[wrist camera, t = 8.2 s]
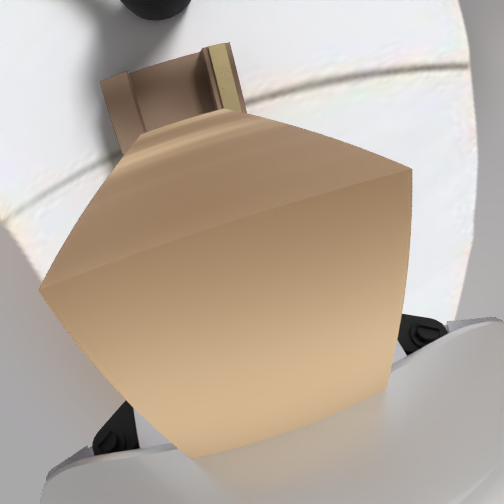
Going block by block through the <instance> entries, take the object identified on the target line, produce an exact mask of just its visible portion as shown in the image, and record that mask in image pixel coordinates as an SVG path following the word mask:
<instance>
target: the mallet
mask: <svg viewBox="0 0 504 504" xmlns="http://www.w3.org/2000/svg"><path fill="white" fill-rule="evenodd" d="M121 1H122V2H123V3H124V5H125V6H126V7H127V8H129V9H130V10H131V11H132V12H134V13H135V14H136V15H138V16H139V17H141V18H144V19H148V20H162V19H166V18H170V17H172V16H174V15H176V14H178V13H179V12H181V11H182V10H184V9H185V8H186V7H187V5H188V4H189V3H190V1H191V0H121Z"/></svg>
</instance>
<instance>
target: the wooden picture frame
mask: <svg viewBox="0 0 504 504" xmlns="http://www.w3.org/2000/svg"><path fill="white" fill-rule="evenodd" d="M411 217H412V169H411V168H409V167H406V166H404V165H402V164H399V163H397V162H395V161H392V160H390V159H387V158H385V157H382V156H380V155H377V154H375V153H372V152H370V151H367V150H364V149H362V148H359V147H356V146H354V145H351V144H348V143H345V142H342V141H339V140H337V139H334V138H331V137H328V136H325V135H321V134H318V133H315V132H312V131H309V130H306V129H302V128H299V127H296V126H292V125H289V124H285V123H282V122H278V121H274V120H270V119H267V118H263V117H259V116H255V115H251V114H247V113H242V112H238V111H234V110H229V109H220V110H216V111H213V112H209V113H206V114H202V115H199V116H195V117H192V118H188V119H185V120H182V121H179V122H176V123H173V124H170V125H167V126H164V127H161V128H158V129H155V130H152V131H149V132H146V133H144V134H141V135H140V136H139V137H138V139H137V140H136V141H135V142H134V143H133V145H132V146H131V147H130V148H129V150H128V151H127V152H126V153H125V155H124V156H123V157H122V159H121V160H120V161H119V162H118V164H117V165H116V166H115V168H114V169H113V170H112V172H111V173H110V174H109V176H108V177H107V179H106V180H105V181H104V183H103V184H102V185H101V187H100V188H99V190H98V191H97V193H96V194H95V195H94V197H93V198H92V200H91V201H90V203H89V204H88V206H87V207H86V209H85V210H84V212H83V213H82V215H81V216H80V218H79V220H78V221H77V223H76V224H75V226H74V227H73V229H72V231H71V232H70V234H69V236H68V237H67V239H66V241H65V242H64V244H63V246H62V247H61V249H60V251H59V253H58V254H57V256H56V258H55V260H54V262H53V263H52V265H51V267H50V269H49V271H48V273H47V274H46V276H45V278H44V280H43V282H42V284H41V286H40V288H39V291H40V293H41V295H42V296H43V298H44V299H45V301H46V302H47V304H48V305H49V307H50V308H51V309H52V311H53V312H54V314H55V315H56V316H57V318H58V320H59V321H60V322H61V324H62V325H63V326H64V328H65V329H66V330H67V332H68V333H69V334H70V336H71V337H72V338H73V340H74V341H75V342H76V343H77V345H78V346H79V347H80V349H81V350H82V351H83V352H84V354H85V355H86V356H87V357H88V358H89V360H90V361H91V362H92V363H93V364H94V366H95V367H96V368H97V369H98V370H99V371H100V372H101V374H102V375H103V376H104V377H105V378H106V379H107V380H108V381H109V383H110V384H111V385H112V386H113V387H114V388H115V389H116V390H117V391H118V392H119V393H120V394H121V395H122V396H123V398H124V399H125V400H126V401H127V402H128V403H129V404H130V405H131V406H132V407H133V408H134V409H135V410H136V411H137V412H138V413H139V414H140V415H141V416H142V417H144V418H145V419H146V420H147V421H148V422H149V423H150V424H151V425H152V426H153V427H154V428H155V429H156V430H157V431H159V432H160V433H161V434H162V435H163V436H164V437H165V438H166V439H168V440H169V441H170V442H171V443H172V444H173V445H175V446H176V447H177V448H178V449H179V450H181V451H182V452H183V453H184V454H186V455H187V456H188V457H189V458H191V459H192V458H197V457H202V456H206V455H210V454H214V453H219V452H223V451H226V450H230V449H234V448H237V447H241V446H245V445H248V444H251V443H255V442H258V441H261V440H264V439H268V438H271V437H274V436H277V435H280V434H282V433H285V432H288V431H291V430H294V429H296V428H299V427H302V426H304V425H307V424H310V423H312V422H315V421H317V420H320V419H322V418H325V417H327V416H329V415H332V414H334V413H336V412H339V411H341V410H343V409H345V408H348V407H350V406H352V405H354V404H356V403H358V402H361V401H363V400H365V399H367V398H369V397H371V396H373V395H375V394H377V393H379V392H381V391H383V390H385V389H386V388H387V384H388V380H389V375H390V371H391V367H392V362H393V358H394V353H395V348H396V343H397V338H398V333H399V327H400V321H401V315H402V309H403V302H404V295H405V288H406V280H407V271H408V261H409V249H410V236H411Z"/></svg>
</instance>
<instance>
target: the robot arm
mask: <svg viewBox="0 0 504 504" xmlns="http://www.w3.org/2000/svg"><path fill="white" fill-rule="evenodd" d="M40 504H504V322H503V321H502V320H501V319H498V318H496V317H487V318H478V319H469V320H459V321H447V324H446V325H443V324H442V323H440V322H439V321H437V320H434V319H431V318H425V317H418V316H412V315H406V314H402V315H401V321H400V327H399V333H398V338H397V343H396V348H395V353H394V358H393V362H392V367H391V371H390V375H389V380H388V384H387V388H386V389H385V390H383V391H381V392H379V393H377V394H375V395H373V396H371V397H369V398H367V399H365V400H363V401H361V402H358V403H356V404H354V405H352V406H350V407H348V408H345V409H343V410H341V411H339V412H336V413H334V414H332V415H329V416H327V417H325V418H322V419H320V420H317V421H315V422H312V423H310V424H307V425H304V426H302V427H299V428H296V429H294V430H291V431H288V432H285V433H282V434H280V435H277V436H274V437H271V438H268V439H264V440H261V441H258V442H255V443H251V444H248V445H245V446H241V447H237V448H234V449H230V450H226V451H223V452H219V453H214V454H210V455H206V456H202V457H197V458H192V459H191V458H189V457H188V456H187V455H186V454H184V453H183V452H182V451H181V450H179V449H178V448H177V447H176V446H175V445H173V444H172V443H171V442H170V441H169V440H168V439H166V438H165V437H164V436H163V435H162V434H161V433H160V432H159V431H157V430H156V429H155V428H154V427H153V426H152V425H151V424H150V423H149V422H148V421H147V420H146V419H145V418H144V417H142V416H141V415H140V414H139V413H138V412H137V411H136V410H135V409H134V408H133V407H132V406H131V405H130V404H129V403H128V402H127V401H125V402H124V403H123V404H122V405H121V406H120V408H119V409H118V410H117V411H116V412H115V413H114V414H113V416H112V417H111V418H110V419H109V420H108V421H107V422H106V424H105V425H104V426H103V427H102V428H101V429H100V430H99V432H98V433H97V434H96V436H95V437H94V441H93V445H92V447H88V446H86V447H84V448H83V449H81V450H80V451H78V452H77V453H75V454H74V455H73V456H71V457H69V458H68V459H66V460H65V461H63V462H62V463H60V464H59V465H57V466H56V467H54V468H53V469H51V471H49V473H48V475H47V477H46V482H45V484H44V487H43V490H42V493H41V499H40Z"/></svg>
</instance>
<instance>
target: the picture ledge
mask: <svg viewBox="0 0 504 504" xmlns="http://www.w3.org/2000/svg"><path fill="white" fill-rule="evenodd" d="M100 83H101V86H102V90H103V94H104V97H105V100H106V104H107V107H108V111H109V114H110V117H111V120H112V124H113V127H114V130H115V133H116V136H117V139H118V142H119V145H120V148H121V151H122V154H123V156H124V155H125V153H126V152H127V151H128V150H129V148H130V147H131V146H132V145H133V143H134V142H135V141H136V140H137V139H138V137H139V136H140V135H141V134H144V133H146V132H149V131H152V130H155V129H158V128H161V127H164V126H167V125H170V124H173V123H176V122H179V121H182V120H185V119H188V118H192V117H195V116H199V115H202V114H206V113H209V112H213V111H216V110H220V109H229V110H234V111H238V112H242V113H247V112H246V107H245V103H244V99H243V95H242V91H241V86H240V82H239V78H238V74H237V70H236V66H235V62H234V58H233V54H232V50H231V46H230V42H229V43H222V44H217V45H213V46H208V47H205V48H202V50H201V51H200V52H199V53H195V54H191V55H187V56H183V57H180V58H176V59H173V60H169V61H166V62H163V63H159V64H156V65H153V66H150V67H147V68H144V69H141V70H138V71H135V72H133V73H128V72H123V73H120V74H118V75H115V76H113V77H110V78H108V79H105V80H103V81H100Z"/></svg>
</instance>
